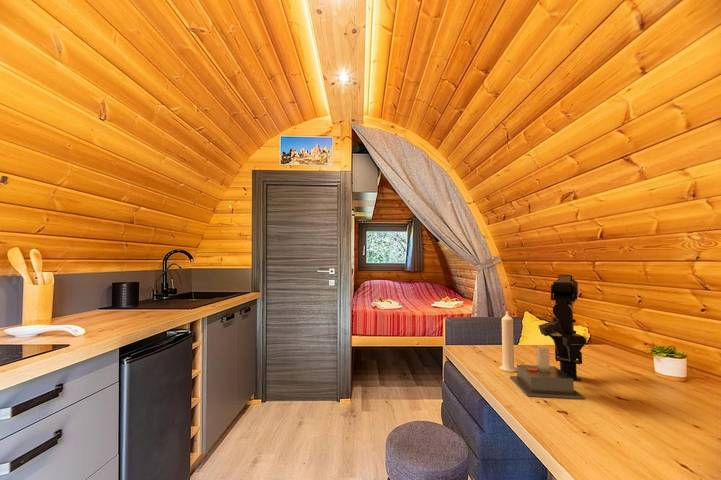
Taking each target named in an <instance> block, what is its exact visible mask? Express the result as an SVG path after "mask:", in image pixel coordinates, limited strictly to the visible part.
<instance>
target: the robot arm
mask: <svg viewBox="0 0 721 480" xmlns="http://www.w3.org/2000/svg"><path fill="white" fill-rule="evenodd" d="M578 296H579V284H578V282H577V280H575V279H574V277H573V275H571V274H560V275H558V279H556V280H555V281H553V283H552V284H550V301H555V302H554V306H553V308H552V313H553V315H554V316H553V317H552V320H551V321H549V322H545V323H542V324H539V325H538V329H539V331H540V334H541V335H543V336H544V337H549V338H550V339H551V340H552V341H553V344H554V355H555V356H554V357H555V362H559V370H561V371H562V372H564V373H565V374H567V375H568V376H570V377H571V378H573V381H576V380H577V381H578V380H579V381H581V379H582V378H580V377H579V376H578V375H577V374H578V372H577V371H578V370H577V365H582V364H583V352H582V351H581V350H583V349H582V348H583V347H585V345H587V344H588V343H587V341H588V340H587V338H586V337H585V336H583V335H581V334H579V333H577V331H576V330H574V323H577V320H576V319H575V318H574V303H576V301H577V300H578Z"/></svg>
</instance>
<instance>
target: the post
mask: <svg viewBox="0 0 721 480" xmlns="http://www.w3.org/2000/svg"><path fill="white" fill-rule="evenodd" d="M536 366H537V370H538V372H539V373H550V366H551V365H550V349H549V348H548V347H545V346H536Z"/></svg>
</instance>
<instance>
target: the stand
mask: <svg viewBox="0 0 721 480" xmlns="http://www.w3.org/2000/svg"><path fill="white" fill-rule="evenodd" d="M516 368H517V372H516V375H510V376H509V379H510V380H511V381H512V382H513V383H514V384H515V385H516V387H518V388H519V389H520V390H521V392H522V393H523V394H524V395H525V396H526V397H528V398H530V397H531V398H549V399H550V398H551V399H568V400H569V399H571V400H573V399H574V400H584V395H582V394H581V393H580V392H578V391H577V390H575V388H574V385H575V384H574V380H573V378H571V377H570V376H568V375H567V374H565V373H564V372H562V371H561V370H560V368H558V367H556V366H555V365H554V366H553V365H550V373H539V372H538V370H537V365H534V364H533V365H531V364H529V365H528V364H517V365H516Z"/></svg>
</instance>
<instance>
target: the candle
mask: <svg viewBox="0 0 721 480" xmlns="http://www.w3.org/2000/svg"><path fill="white" fill-rule="evenodd" d="M501 343H502V344H501V345H502V347H501V348H502V349H501V350H502V353H501V354H502V355H501V357H502V365H500V366H499V370H501V371H503V372H506V373H517V366H516V367H515V350H514V349H515V348H514V347H515V346H514V343H515V341H514V319H513V318H512V317H511V316H510V314H509V311H508V310H507V311H506V313H505V315H504V316H503V317H502V318H501Z"/></svg>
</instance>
